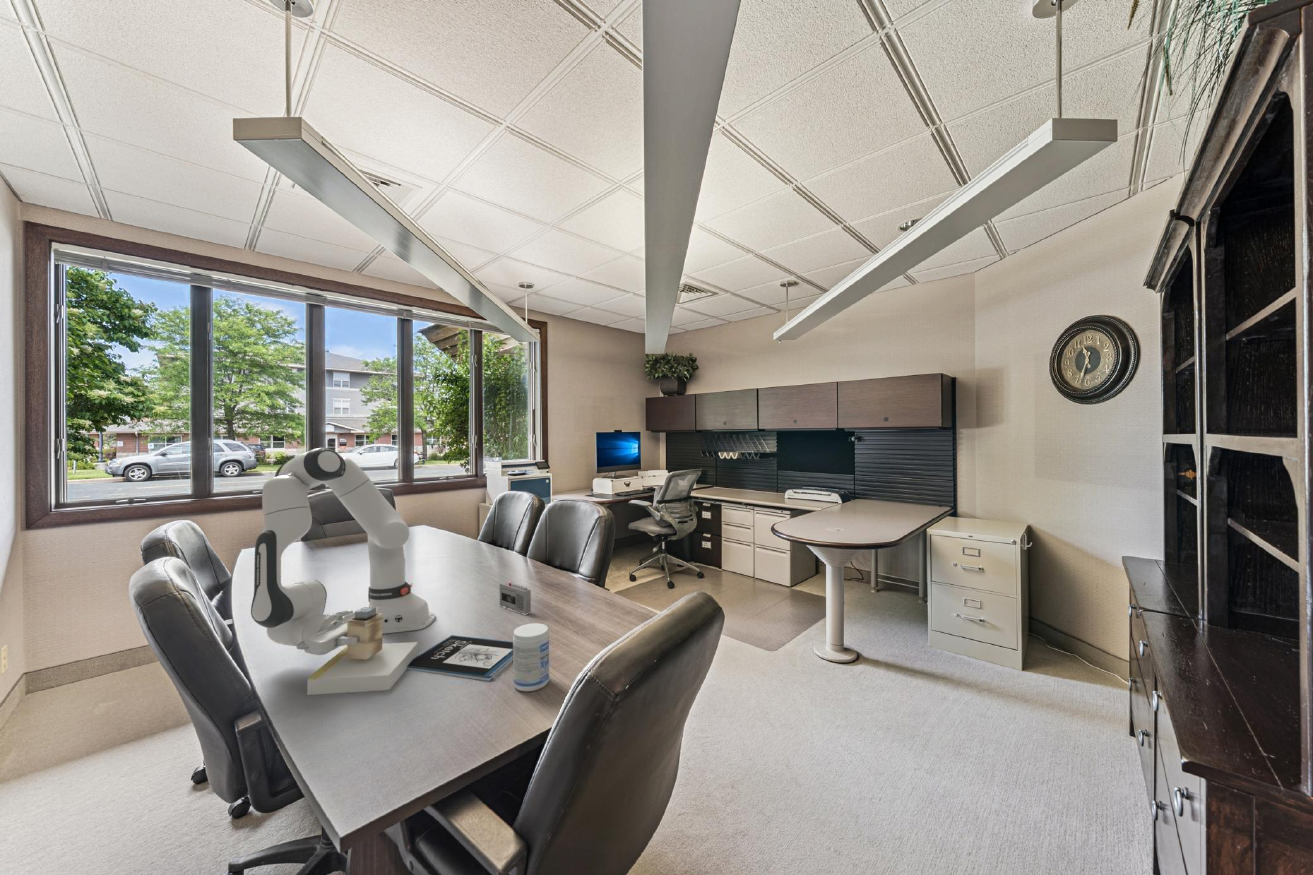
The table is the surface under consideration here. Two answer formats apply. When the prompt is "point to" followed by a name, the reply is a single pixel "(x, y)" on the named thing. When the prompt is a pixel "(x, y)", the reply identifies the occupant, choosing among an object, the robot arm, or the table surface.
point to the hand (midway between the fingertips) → (368, 634)
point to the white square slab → (363, 670)
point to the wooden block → (365, 637)
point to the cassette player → (515, 597)
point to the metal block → (365, 613)
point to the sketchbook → (466, 658)
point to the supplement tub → (531, 657)
